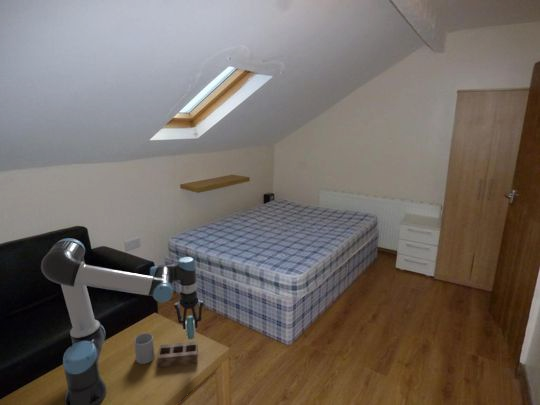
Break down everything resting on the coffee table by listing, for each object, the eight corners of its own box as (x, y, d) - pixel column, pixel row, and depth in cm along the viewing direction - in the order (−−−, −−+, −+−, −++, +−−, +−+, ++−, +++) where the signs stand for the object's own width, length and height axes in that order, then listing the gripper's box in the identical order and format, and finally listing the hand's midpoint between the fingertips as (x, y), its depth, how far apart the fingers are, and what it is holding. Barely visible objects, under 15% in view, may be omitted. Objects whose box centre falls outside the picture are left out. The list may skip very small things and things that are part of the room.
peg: (187, 339, 160) (186, 319, 157) (188, 335, 162) (186, 315, 159) (193, 339, 160) (192, 319, 157) (194, 335, 163) (193, 315, 160)
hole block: (158, 367, 157) (157, 358, 156) (160, 353, 166) (159, 345, 164) (197, 362, 161) (197, 354, 159) (197, 349, 169) (197, 341, 168)
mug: (154, 362, 160) (152, 343, 157) (135, 365, 158) (133, 345, 155) (155, 345, 171) (154, 327, 168) (137, 348, 169) (135, 329, 166)
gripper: (169, 296, 149) (172, 340, 156) (206, 293, 152) (207, 337, 159) (171, 287, 156) (174, 330, 163) (206, 284, 159) (207, 327, 166)
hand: (190, 333), depth 161 cm, fingers closed on peg, 3 cm apart
